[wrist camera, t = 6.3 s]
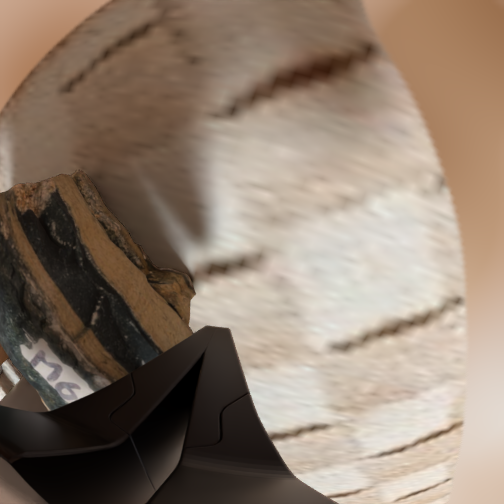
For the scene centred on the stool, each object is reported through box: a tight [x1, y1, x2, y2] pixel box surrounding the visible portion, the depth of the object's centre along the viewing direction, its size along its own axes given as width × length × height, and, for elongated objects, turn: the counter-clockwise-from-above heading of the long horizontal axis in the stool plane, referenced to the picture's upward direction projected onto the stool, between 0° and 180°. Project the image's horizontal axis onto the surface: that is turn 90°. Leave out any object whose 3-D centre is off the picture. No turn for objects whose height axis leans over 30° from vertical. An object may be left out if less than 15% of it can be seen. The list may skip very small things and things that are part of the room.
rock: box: [0, 170, 196, 411], centre depth 9 cm, size 9×9×6 cm
